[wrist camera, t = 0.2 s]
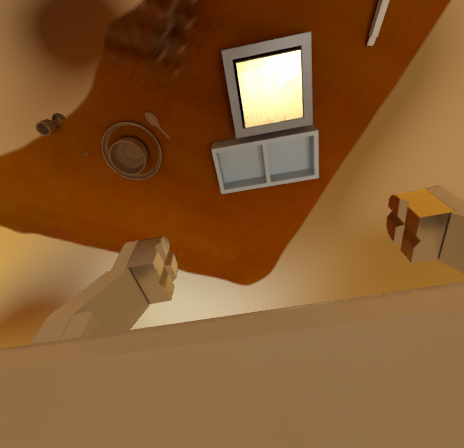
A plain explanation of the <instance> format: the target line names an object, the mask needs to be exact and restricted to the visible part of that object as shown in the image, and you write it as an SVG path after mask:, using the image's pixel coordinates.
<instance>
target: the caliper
mask: <svg viewBox="0 0 464 448" xmlns="http://www.w3.org/2000/svg"><path fill="white" fill-rule="evenodd" d="M388 3H389V0H379V2H378V5H377V8H376V12H375V15H374V18H373V21H372V25H371V28H370V31H369V39H368V42H367V46H373V44H374V42H375V39H376V37H378V34H379V31H380V28H381V25H382V22H383V19H384V15H385V12H386V9H387V6H388Z"/></svg>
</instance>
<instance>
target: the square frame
mask: <svg viewBox="0 0 464 448" xmlns="http://www.w3.org/2000/svg"><path fill="white" fill-rule="evenodd" d="M296 46H297V49H298V50H301V76H302V104H303V117H301V118H296V119H291V120H285V121H280V122H275V123H269V124H264V125H258V126H253V127H248V128H246V126H245V123H242V119H241V112H240V106H239V100H238V93H237V87H236V80H235V74H234V67H233V61H232V60H234V59H238V58H243V57H248V56H253V55H258V54H262V53H267V52H272V51H277V50H281V49H286V48H291V47H296ZM221 52H222V58H223V64H224V70H225V76H226V81H227V87H228V93H229V99H230V105H231V111H232V116H233V122H234V128H235V134H236V139H237V138H242V137H248V136H253V135H258V134H264V133H269V132H275V131H280V130H286V129H291V128H297V127H302V126H308V125H313V112H312V55H311V32H304V33H299V34H294V35H290V36H285V37H280V38H276V39H271V40H266V41H262V42H257V43H252V44H248V45H243V46H238V47H234V48H229V49H224V50H222V51H221Z"/></svg>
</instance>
